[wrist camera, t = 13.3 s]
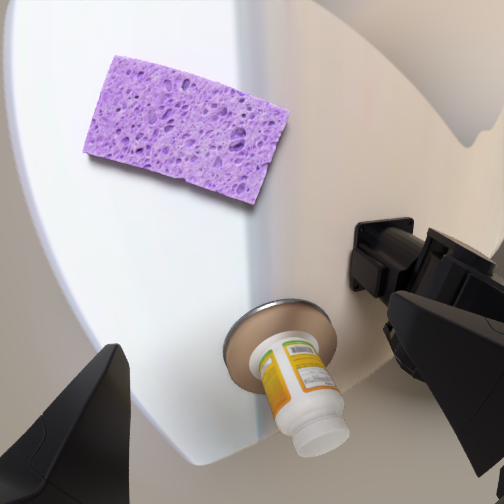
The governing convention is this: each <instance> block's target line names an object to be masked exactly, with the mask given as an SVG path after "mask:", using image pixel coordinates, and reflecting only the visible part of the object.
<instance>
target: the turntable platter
mask: <svg viewBox="0 0 504 504" xmlns="http://www.w3.org/2000/svg"><path fill="white" fill-rule="evenodd" d="M289 337H299V338H303V339H305V340H307V341H309V342H310V343H311V344H312V345H313V347H314V348H315V350H316V352H317V353H318V355H319V357H320V359H321V360H322V362H323V364H324V366H325V368H326V367H327V366H328V364H329V363H330V361H331V360H332V358H333V356H334V353H335V351H336V347H337V336H336V332H335V330H334V328H333V326H332V325H331V323H330V322H329V321H328V319H327V318H326V316H325V315H324V314H323V313H322V312H321V311H320V310H318V309H316V308H315V307H313V306H310V305H307V304H303V303H282V304H277V305H272V306H269V307H267V308H264V309H262V310H260V311H257V312H256V313H254V314H252V315H251V316H249V317H248V318H246V319H245V320H244V321H243V322H242V323H240V324H239V325H238V327H237V328H236V329H235V330H234V331H233V333H232V334H231V336H230V338H229V340H228V342H227V346H226V353H225V354H226V362H227V367H228V371H229V374H230V376H231V378H232V380H233V381H234V382H235V383H236V384H237V385H238V386H239V387H241V388H242V389H244V390H247V391H249V392H252V393H257V394H266V392H265V389H264V386H263V382H262V379H261V376H260V373H259V369H258V361H259V358H260V356H261V354H262V353H263V352H264V350H265V349H266V348H267V347H269V346H270V345H271V344H273V343H275V342H277V341H279V340H281V339H284V338H289Z"/></svg>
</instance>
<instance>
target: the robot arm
mask: <svg viewBox="0 0 504 504" xmlns="http://www.w3.org/2000/svg"><path fill="white" fill-rule="evenodd" d="M409 221H410V222H409ZM408 223H409V224H408ZM361 227H363V229H362V230H360V229H361ZM413 227H414V220H413V219H412V218H410V217H403V218H394V219H384V220H375V221H366V222H360V223H358V224H357V226H356V230H355V243H354V249H353V256H352V266H351V284H350V288H351V289H352V290H353V291H354V292H357V291H361V290H365V289H366V290H367V291H368V292H369V293H370V294H371V295H372V296H373V297H374V298H379V299H380V300H381V301H382V302H383V303H384V304H385V305H386V306H387V307H388V311H387V316H388V319H389V321H388V323H386V324H385V326H384V328H383V331H384V333H385V335H386V337H387V339H388V342H389V344H390V346H391V348H392V351H393V353H394V355H395V358H396V360H397V362H398V364H399V365H400V367H401V368H402V369H403V370H405V371H406V372H407V373H409V374H410V375H411V376H412V377H413V378H416V379H418V380H421V381H423V382H425V383H426V384H427V386H428V387H429V389H430V390H431V392H432V394H433V395H434V397H435V399H436V400H437V402H438V404H439V405H440V407H441V409H442V410H443V412H444V414H445V416H446V418H447V419H448V421H449V423H450V425H451V426H452V428H453V430H454V432H455V434H456V435H457V438H458V440H459V441H460V443H461V445H462V447H463V449H464V451H465V453H466V455H467V457H468V459H469V461H470V463H471V465H472V467H473V469H474V471H475V473H476V475H477V476H478V477H481V476H482V475H483V474H484V473H486V472H487V471H488V470H489V469H490V468H492V467H493V466H494V465H495V464H496V463H498V462H499V461H500V460H501V459H502V458H503V457H504V279H503V278H501V277H499V276H498V275H496V274H495V273H494V271H495V269H496V266H497V264H496V263H494V262H493V261H492V260H490V259H489V258H488V257H486V256H485V255H484V254H482V253H481V252H479V251H478V250H476V249H474V248H472V247H470V246H469V245H467V244H465V243H463V242H461V241H459V240H457V239H455V238H453V237H450V236H448V235H446V234H443V233H441V232H439V231H437V230H434V229H432V228H429V229H428V232H427V238H426V240H425V241H423V240H421V239H419V238H418V237H416V236H414V235H412V234H413ZM356 285H357V286H356ZM355 286H356V287H355ZM130 419H131V400H130V368H129V363H128V361H127V359H126V356H125V354H124V352H123V350H122V348H121V346H120V345H119V344H117V343H116V344H107V345H106V346H105V347H104V348H103V349H102V350H101V351H100V352H99V353H98V354H97V355H96V356H95V357H94V358H93V359H92V360H91V361H90V362H89V363H88V365H87V366H85V368H84V369H83V370H82V371H81V372H80V373H79V374H78V375H77V376H76V377H75V378H74V379H73V380H72V381H71V383H70V384H69V385H68V386H67V387H66V388H65V389H64V390H63V391H62V392H61V393H60V395H59V396H58V397H57V398H56V399H55V400H54V401H53V402H52V403H51V404H50V406H49V407H48V408H47V409H46V410H45V411H44V412H43V415H41V416H40V417H39V418H38V419H37V420H36V421H35V422H34V424H33V425H32V426H31V427H30V428H29V429H28V430H27V431H26V432H25V433H24V434H23V435H22V436H21V437H20V438H19V439H18V440H17V441H16V442H15V443H14V444H13V445H12V446H11V447H10V448H9V449H8V450H7V451H6V452H5V453H4V454H3V455H2V456H1V457H0V504H129V503H130V502H129V439H130ZM496 495H497V497H498V498H499V500H498V501H497V502H496V503H495V504H504V465H503V466H502V468H501V469H500V475H499V482H498V488H497V494H496Z"/></svg>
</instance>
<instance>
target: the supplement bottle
mask: <svg viewBox="0 0 504 504" xmlns="http://www.w3.org/2000/svg"><path fill="white" fill-rule="evenodd" d="M258 369H259V373H260V376H261V379H262V382H263V386H264V389H265V392H266V395H267V398H268V401H269V404H270V407H271V410H272V413H273V416H274V419H275V422H276V425H277V427H278V429H279V430H280V431H281V432H282V433H283V434H285V435H287V436H290V437H292V441H293V445H294V447H295V450H296V452H297V454H298V456H300V457H303V458H310V457H316V456H320V455H323V454H325V453H328V452H330V451H332V450H334V449H335V448H337V447H339V446H340V445H342V444H343V443H344V442H345V441H346V440H347V439H348V437H349V436H350V431H349V428H348V426H347V424H346V422H345V420H344V419H343V418H342V417H341V415H342V413H343V411H344V406H345V405H344V400H343V398H342V396H341V394H340V392H339V390H338V389H337V387H336V385H335V383H334V382H333V380H332V378H331V376H330V374H329V373H328V371H327V369H326V368H325V366H324V364H323V362H322V360H321V359H320V357H319V355H318V353H317V352H316V350H315V348H314V347H313V345H312V344H311V343H310V342H309V341H307V340H305V339H303V338H299V337H289V338H284V339H281V340H279V341H277V342H275V343H273V344H271V345H270V346H269V347H267V348H266V349H265V350H264V352H263V353H262V354H261V356H260V358H259V361H258Z"/></svg>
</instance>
